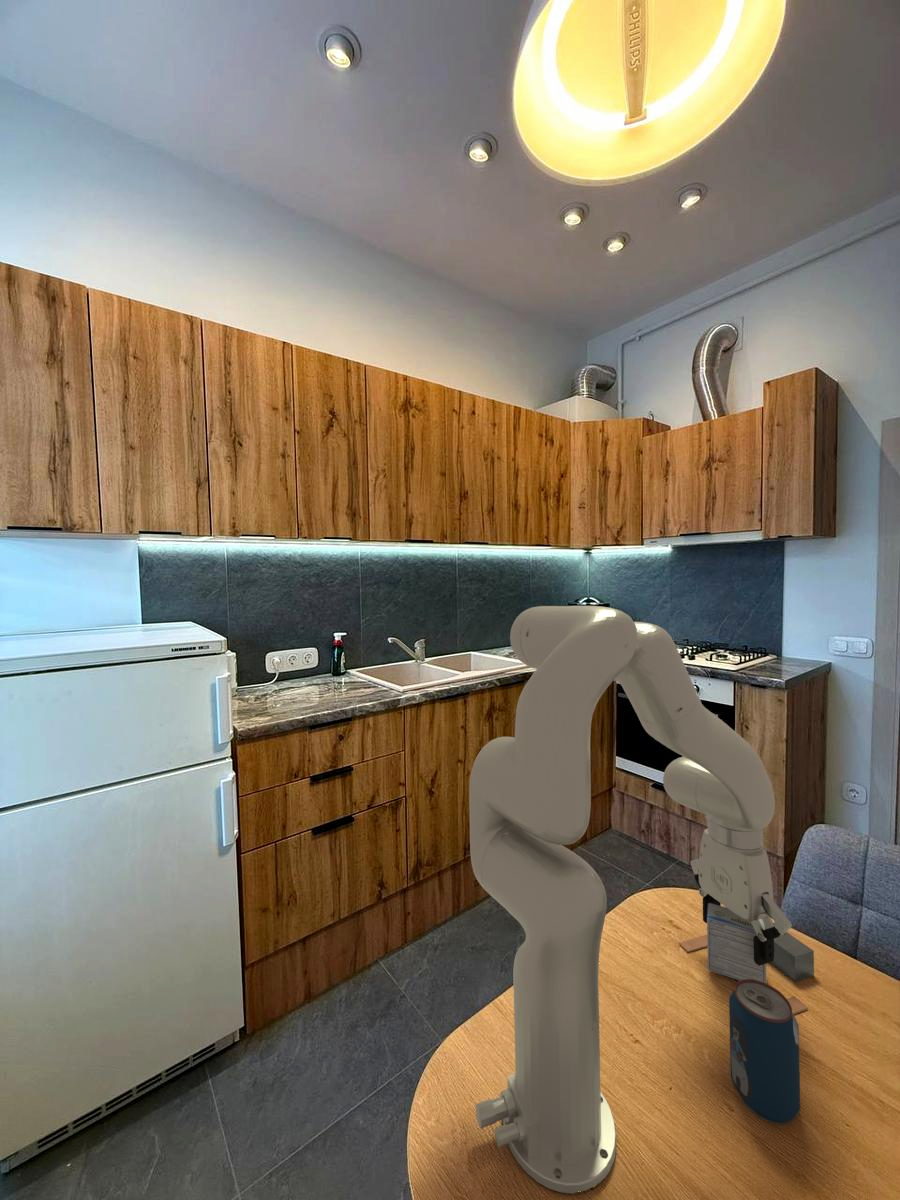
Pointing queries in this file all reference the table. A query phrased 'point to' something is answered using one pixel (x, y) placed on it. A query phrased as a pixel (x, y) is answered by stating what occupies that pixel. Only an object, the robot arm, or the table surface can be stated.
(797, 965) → the connector dock
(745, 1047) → the soda can
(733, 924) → the medicine box
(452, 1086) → the table surface
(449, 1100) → the table surface
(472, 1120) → the table surface
